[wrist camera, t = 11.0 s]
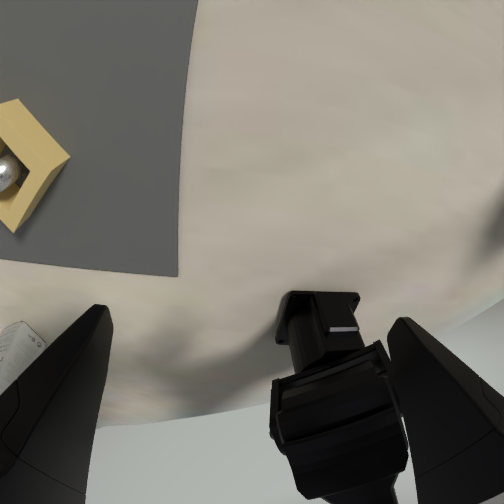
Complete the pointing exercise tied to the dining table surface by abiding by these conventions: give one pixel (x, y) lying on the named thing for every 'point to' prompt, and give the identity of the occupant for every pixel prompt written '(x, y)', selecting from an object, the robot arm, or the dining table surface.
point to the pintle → (11, 170)
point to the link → (27, 162)
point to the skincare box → (17, 352)
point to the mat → (101, 127)
